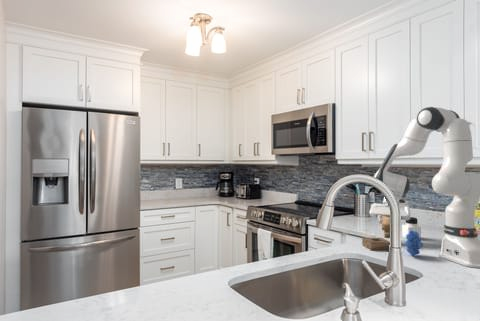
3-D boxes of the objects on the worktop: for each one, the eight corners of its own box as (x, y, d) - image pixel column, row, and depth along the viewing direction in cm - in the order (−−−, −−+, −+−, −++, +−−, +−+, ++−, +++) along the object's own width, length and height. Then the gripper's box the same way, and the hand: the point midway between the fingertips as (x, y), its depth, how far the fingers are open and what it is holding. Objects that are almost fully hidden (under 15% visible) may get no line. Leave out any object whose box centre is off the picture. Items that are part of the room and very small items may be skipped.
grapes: (416, 260, 138) (416, 233, 138) (401, 256, 143) (401, 230, 144) (429, 256, 144) (429, 230, 145) (414, 253, 150) (414, 227, 150)
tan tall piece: (395, 238, 165) (395, 217, 165) (385, 238, 164) (384, 217, 165) (390, 236, 170) (390, 216, 171) (379, 236, 170) (379, 216, 170)
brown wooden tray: (391, 250, 154) (391, 242, 154) (371, 250, 153) (371, 242, 153) (381, 245, 164) (381, 237, 164) (362, 245, 163) (362, 237, 163)
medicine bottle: (421, 239, 178) (421, 218, 178) (408, 239, 178) (408, 218, 178) (414, 237, 185) (414, 216, 185) (402, 236, 185) (402, 216, 185)
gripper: (370, 199, 180) (365, 218, 172) (410, 201, 167) (407, 222, 159) (373, 206, 183) (368, 225, 175) (412, 209, 171) (409, 229, 163)
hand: (387, 223), depth 167 cm, fingers closed on tan tall piece, 6 cm apart
